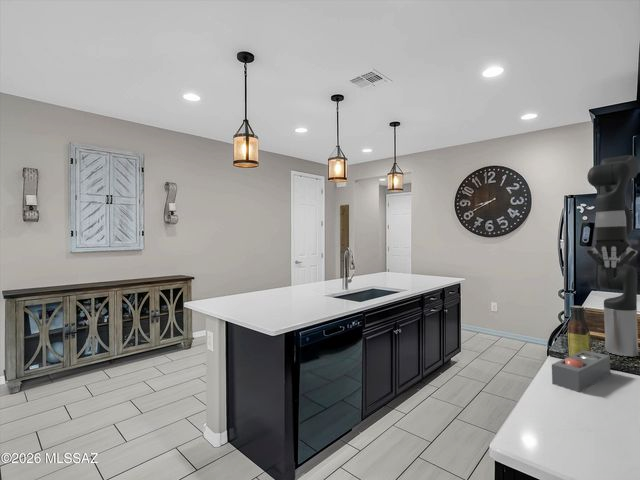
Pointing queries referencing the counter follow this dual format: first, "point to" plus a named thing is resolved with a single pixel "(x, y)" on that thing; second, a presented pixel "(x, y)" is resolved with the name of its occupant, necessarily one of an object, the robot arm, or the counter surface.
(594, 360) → the steel button
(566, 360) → the red button
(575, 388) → the button panel
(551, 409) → the counter surface
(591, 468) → the counter surface
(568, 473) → the counter surface
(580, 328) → the sauce bottle
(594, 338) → the counter surface
